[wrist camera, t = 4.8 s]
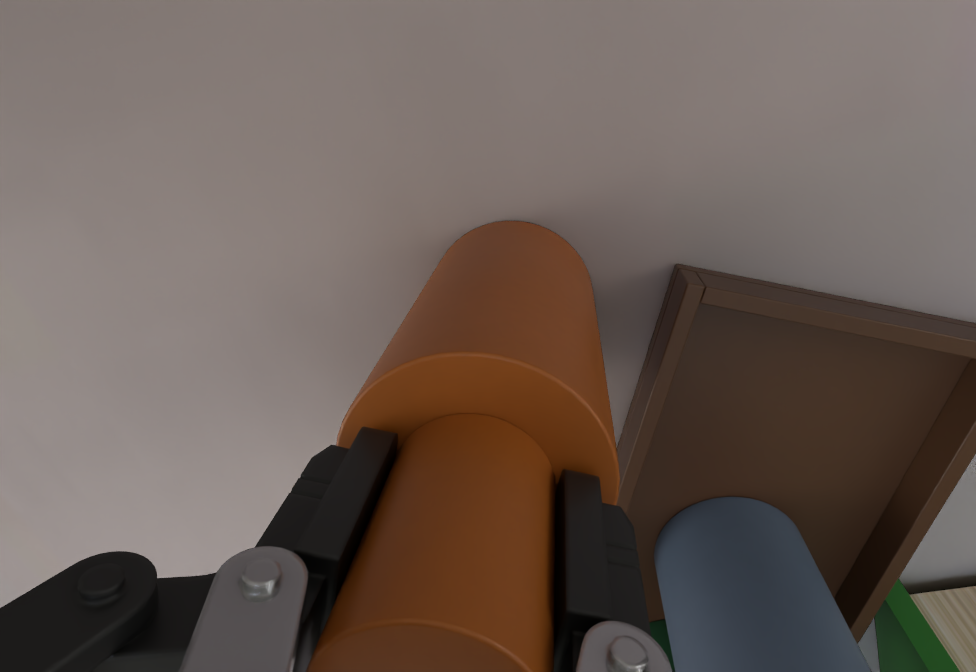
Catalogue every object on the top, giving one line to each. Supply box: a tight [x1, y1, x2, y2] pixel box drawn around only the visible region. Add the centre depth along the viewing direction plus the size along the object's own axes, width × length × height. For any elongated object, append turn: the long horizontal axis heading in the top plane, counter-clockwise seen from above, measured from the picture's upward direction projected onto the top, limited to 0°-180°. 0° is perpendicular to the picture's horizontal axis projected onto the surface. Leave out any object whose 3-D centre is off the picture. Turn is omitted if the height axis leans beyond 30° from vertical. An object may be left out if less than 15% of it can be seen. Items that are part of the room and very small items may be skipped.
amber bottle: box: [306, 221, 620, 672], centre depth 15 cm, size 6×6×16 cm
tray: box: [616, 264, 976, 644], centre depth 25 cm, size 11×23×2 cm, turn 170°
